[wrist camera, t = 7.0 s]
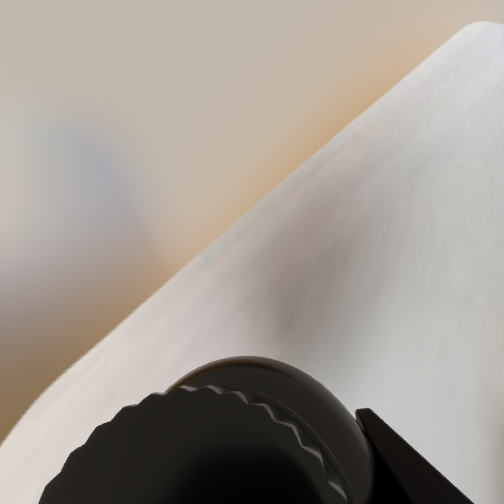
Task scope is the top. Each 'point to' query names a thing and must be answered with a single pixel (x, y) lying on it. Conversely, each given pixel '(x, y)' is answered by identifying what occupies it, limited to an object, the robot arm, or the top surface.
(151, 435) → the supplement bottle
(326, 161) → the top surface
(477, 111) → the top surface
